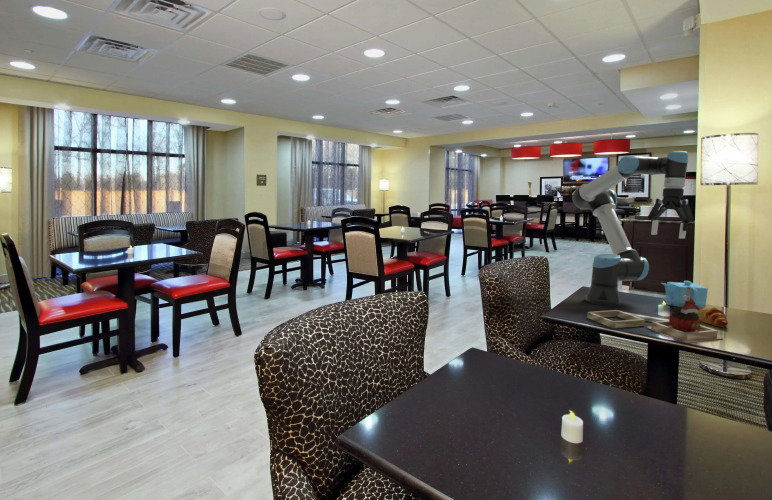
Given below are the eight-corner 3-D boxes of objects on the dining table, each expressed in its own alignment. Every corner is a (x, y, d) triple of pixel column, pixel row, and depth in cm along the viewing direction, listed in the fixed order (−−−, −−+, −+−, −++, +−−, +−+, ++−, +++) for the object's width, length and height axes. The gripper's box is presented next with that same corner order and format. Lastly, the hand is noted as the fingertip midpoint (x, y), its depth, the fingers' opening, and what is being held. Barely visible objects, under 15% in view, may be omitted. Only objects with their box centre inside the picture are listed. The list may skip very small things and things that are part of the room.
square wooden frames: (587, 317, 182) (587, 311, 182) (645, 313, 191) (646, 307, 191) (656, 346, 151) (657, 338, 150) (722, 339, 160) (723, 331, 159)
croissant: (688, 321, 193) (681, 305, 193) (710, 312, 192) (703, 296, 191) (717, 336, 172) (709, 318, 172) (743, 326, 171) (735, 308, 170)
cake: (682, 327, 171) (688, 283, 168) (705, 335, 162) (711, 289, 160) (661, 329, 168) (667, 284, 166) (682, 337, 159) (689, 290, 157)
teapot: (687, 304, 210) (691, 278, 208) (708, 313, 195) (712, 285, 193) (649, 302, 212) (652, 276, 210) (666, 310, 197) (670, 283, 195)
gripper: (642, 187, 196) (636, 233, 199) (695, 188, 172) (687, 240, 175) (655, 187, 198) (649, 233, 201) (708, 188, 174) (701, 240, 177)
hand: (667, 236), depth 188 cm, fingers open, 13 cm apart
